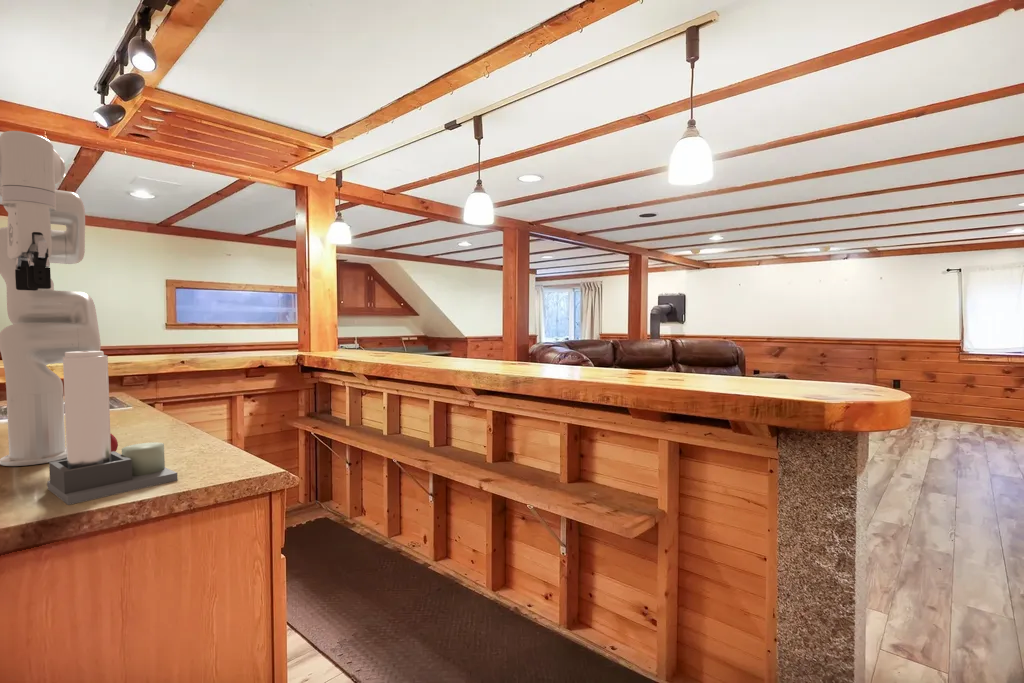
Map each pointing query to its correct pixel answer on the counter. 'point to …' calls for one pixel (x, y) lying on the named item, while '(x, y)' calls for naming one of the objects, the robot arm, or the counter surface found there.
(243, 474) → the counter surface
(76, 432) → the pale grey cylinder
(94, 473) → the grey desk organizer
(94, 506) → the counter surface
